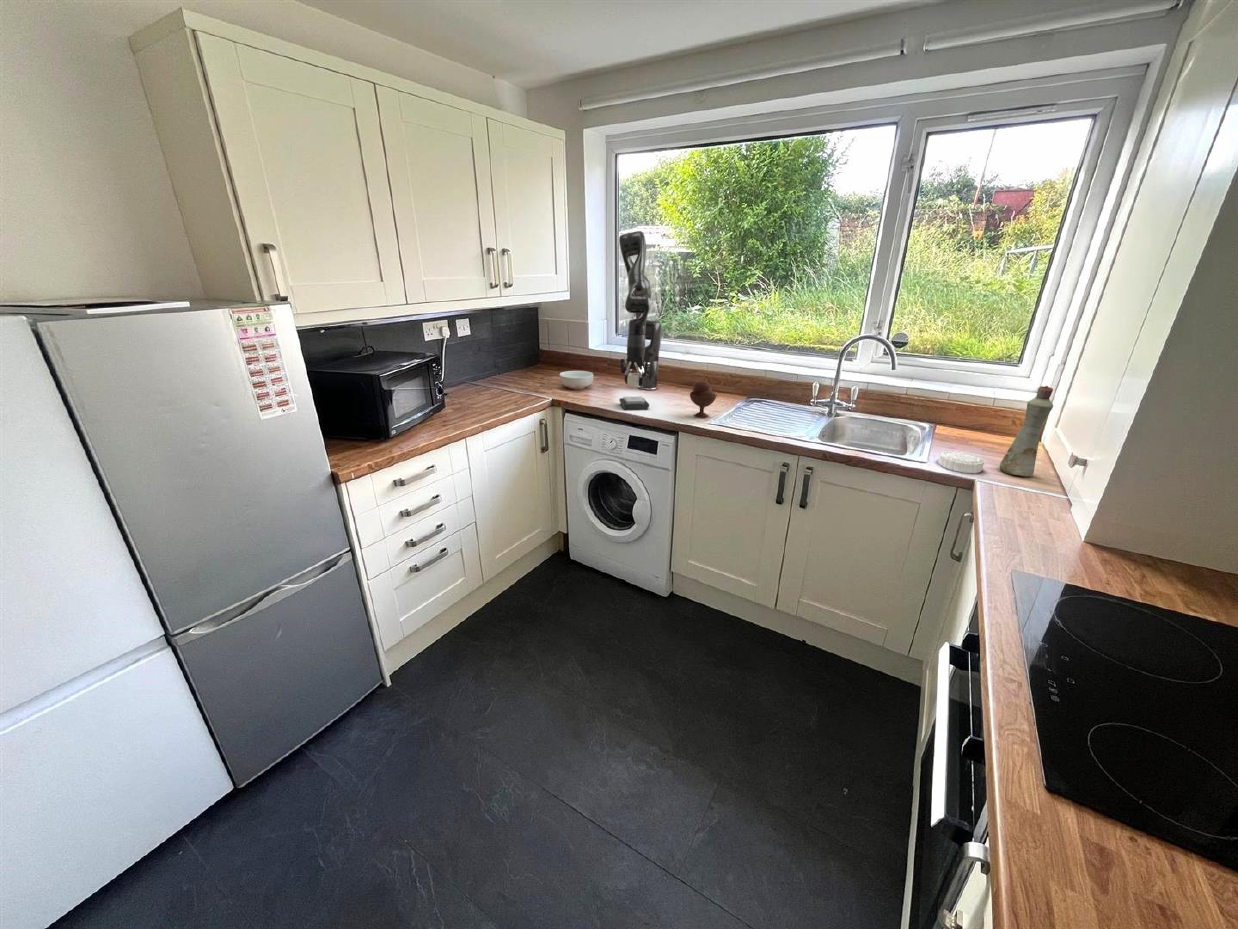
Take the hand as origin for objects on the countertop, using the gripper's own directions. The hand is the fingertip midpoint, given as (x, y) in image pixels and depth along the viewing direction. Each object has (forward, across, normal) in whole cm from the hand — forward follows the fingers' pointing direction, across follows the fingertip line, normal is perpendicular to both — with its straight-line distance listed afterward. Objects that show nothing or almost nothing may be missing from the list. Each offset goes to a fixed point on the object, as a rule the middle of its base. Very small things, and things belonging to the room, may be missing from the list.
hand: (634, 384), depth 214 cm
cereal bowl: (+10, -42, +12) cm, 44 cm away
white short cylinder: (+1, 0, 0) cm, 1 cm away
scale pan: (+8, 0, 0) cm, 8 cm away
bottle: (+10, +136, +12) cm, 137 cm away
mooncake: (+10, +121, +7) cm, 122 cm away
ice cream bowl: (+10, +30, +6) cm, 32 cm away
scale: (+10, 0, 0) cm, 10 cm away
